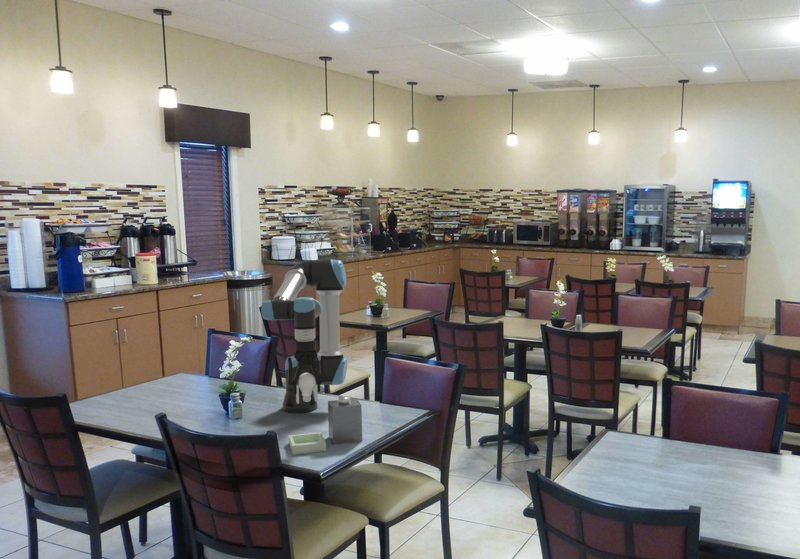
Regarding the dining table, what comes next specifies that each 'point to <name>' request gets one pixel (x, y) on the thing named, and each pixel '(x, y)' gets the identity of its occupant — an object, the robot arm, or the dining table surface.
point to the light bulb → (306, 385)
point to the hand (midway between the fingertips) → (307, 401)
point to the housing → (345, 420)
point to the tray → (307, 443)
